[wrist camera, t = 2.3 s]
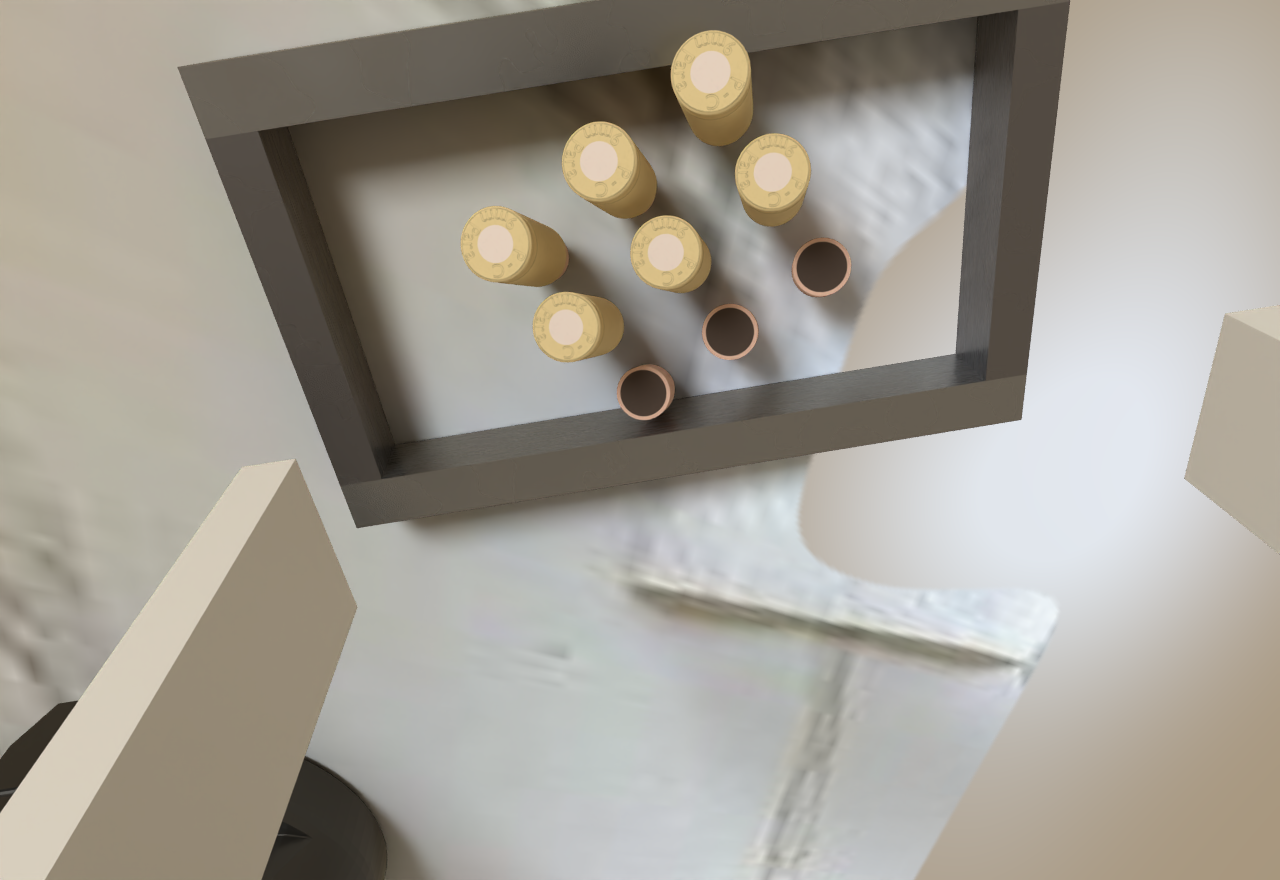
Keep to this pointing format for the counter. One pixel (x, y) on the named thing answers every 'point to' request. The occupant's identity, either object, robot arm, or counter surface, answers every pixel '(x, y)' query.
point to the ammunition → (658, 224)
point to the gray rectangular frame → (690, 427)
